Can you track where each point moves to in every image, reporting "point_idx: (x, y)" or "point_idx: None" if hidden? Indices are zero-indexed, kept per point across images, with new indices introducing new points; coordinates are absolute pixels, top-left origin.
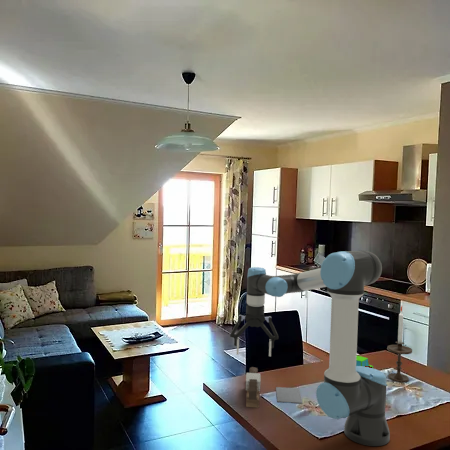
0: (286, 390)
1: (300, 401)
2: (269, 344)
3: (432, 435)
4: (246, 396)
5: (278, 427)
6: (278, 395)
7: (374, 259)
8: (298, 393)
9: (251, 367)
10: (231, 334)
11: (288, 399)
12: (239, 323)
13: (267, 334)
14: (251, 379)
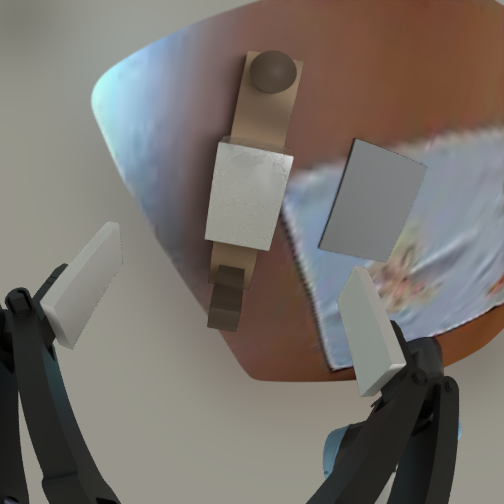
0: (381, 175)
1: (384, 256)
2: (358, 363)
3: (474, 349)
4: (210, 265)
5: (274, 347)
6: (338, 210)
7: None
8: (407, 204)
9: (264, 53)
10: (6, 354)
11: (358, 241)
12: (22, 479)
13: (351, 449)
14: (217, 310)
